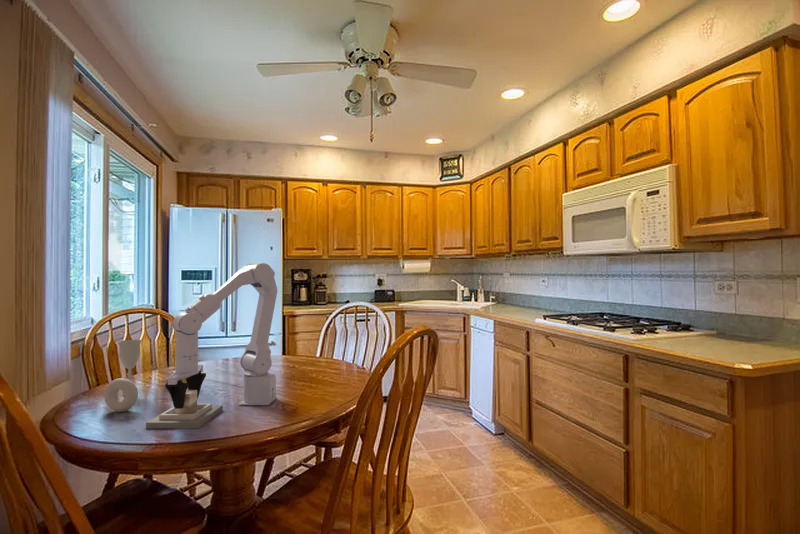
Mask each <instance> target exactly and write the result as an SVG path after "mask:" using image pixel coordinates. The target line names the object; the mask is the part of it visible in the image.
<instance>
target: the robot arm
mask: <svg viewBox="0 0 800 534" xmlns="http://www.w3.org/2000/svg"><path fill="white" fill-rule="evenodd" d="M275 275H276V272H275V270H274V269H273V268H272V267H271V266H270V265H269V264H267V263H264V262H262V263H247V264H246V265H244V266H243V267H242V268H240V269H238V270H237V271H236V272H235V273H234V274H233V275H232V276H231V277H230V278H229V279H227V281H226V282H225V283H224V284H221V286H220V287H219V288H218V289H217V290H215V291H214V292H213V293H206V294H204V295H203V294H201V295H200V296H199V297H198V300H197V301H196V302H195V303H194V304H192V305H191V306H190V307H186V308H184V311H185V312H180V313H178V314H177V315H176V316H175V317H174V319H173V320H172V321H173V322H172V323H171V326H172V329H173V330H174V332H175V340H174V343H175V345H174V347H175V349H174V351H175V352H174V355H175V357H174V358H175V359H174V361H175V362H174V363H175V364H174V369H175V370H172V371H171V372H170V373H171V374H170V376H169V377H168V378H167V382H166V383H165V385H164V387H165V389H166V390H167V391H168V393H169V395H170V398H171V400H172V401H171V402H172V403H173V407H174V408H175V409H182V408H183V407H184V402H185V394H186V390H197V400H198V399H199V396H200V391H201V388H202V385H203V382H204V381H205V379H206V377H207V373H206V372H204V365H203V364H201V365H200V364H199V331H200V330H201V329H202V326H203V323H204V322H206V321H207V320H208V319H209V318H210V317H212V316H213V315H214V314H215V313H217V312H218V311H219V310H220V309H221V306H222V302H223V301H224V300H226V299H227V298H228V297H229V296H230V295H232V294H233V293H234V292H236V291H237V290H238V289H240V288H241V287H242V286H247V285H250V286H252V287H253V288H254V289H255V291H256V293H258V294H259V295H258V300H257V307H256V310H255V316H254V320H253V326H252V332H251V337H250V341H249V343H248V344H247V345H246V346H245V349H244V350H245V351H244V353H243V354H242V355H241V357H240V361H239V362H240V363H239V364H240V366H241V368H242V369H243V400H241V401H240V402H239V403H238V406H269V405H271V404H272V402H274V401H275V400H276V399H277V397H278V396H277V378H276V377H277V376H276V374H275V373H269V371H270V370H271V367H272V364H273V363H272V357H271V353H272V350H271V348H270V346H269V340H270V334H271V327H272V324H273V323H272V322H273V317H274V314H275V313H274V311H275V308H276V307H275V306H276V300H277V295H278V287H277V283H276V279H275ZM184 379H186V382H187V383H183V382H182V380H184ZM187 387H188V389H187Z"/></svg>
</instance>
